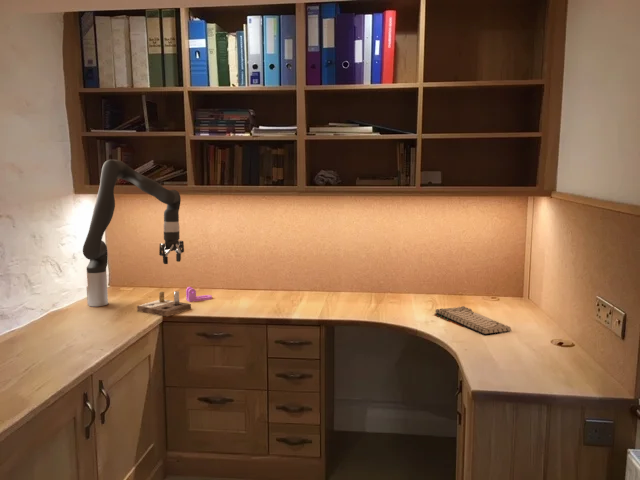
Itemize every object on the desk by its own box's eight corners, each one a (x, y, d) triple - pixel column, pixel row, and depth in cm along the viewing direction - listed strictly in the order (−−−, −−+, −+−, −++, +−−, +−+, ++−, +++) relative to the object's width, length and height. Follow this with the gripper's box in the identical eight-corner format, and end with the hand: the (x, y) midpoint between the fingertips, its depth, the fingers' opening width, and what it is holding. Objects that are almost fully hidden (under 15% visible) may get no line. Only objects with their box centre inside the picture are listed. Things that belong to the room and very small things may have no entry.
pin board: (137, 311, 262) (136, 295, 261) (161, 303, 276) (161, 289, 275) (167, 316, 253) (166, 300, 251) (190, 308, 266) (190, 293, 265)
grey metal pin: (173, 309, 264) (172, 292, 263) (177, 308, 267) (176, 291, 265) (177, 310, 263) (176, 292, 262) (180, 309, 265) (180, 291, 264)
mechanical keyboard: (518, 332, 231) (518, 325, 231) (482, 338, 224) (483, 330, 223) (462, 311, 265) (462, 304, 265) (430, 315, 258) (430, 308, 257)
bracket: (189, 302, 280) (188, 289, 279) (186, 300, 285) (185, 287, 284) (213, 299, 286) (213, 286, 285) (210, 297, 291) (209, 284, 290)
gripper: (176, 228, 272) (177, 259, 274) (155, 231, 260) (155, 264, 262) (187, 229, 268) (187, 261, 271) (166, 232, 256) (166, 265, 258)
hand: (172, 262), depth 266 cm, fingers open, 8 cm apart
